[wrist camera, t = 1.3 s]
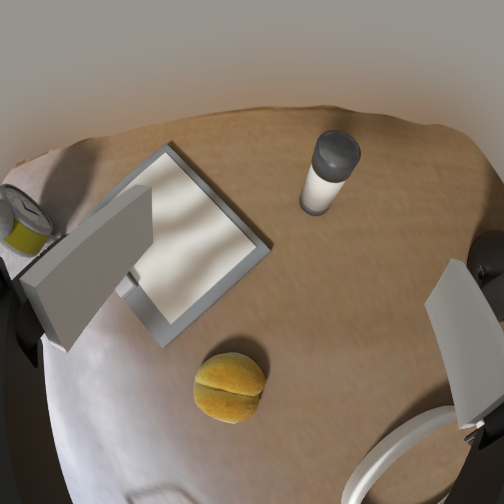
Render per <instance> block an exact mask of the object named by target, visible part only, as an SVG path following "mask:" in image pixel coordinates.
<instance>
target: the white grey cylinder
mask: <svg viewBox="0 0 504 504" xmlns="http://www.w3.org/2000/svg"><path fill="white" fill-rule="evenodd" d="M360 157H361V151H360V147H359V145H358V143H357V142H356V141H355V139H354V138H352V137H351V136H350V135H348V134H346V133H344V132H341V131H336V130H332V131H327V132H325V133H323V134H322V135H321V136H320V137H319V138H318V140H317V143H316V147H315V150H314V153H313V156H312V160H311V166H310V169H309V172H308V175H307V178H306V181H305V184H304V187H303V189H302V192H301V195H300V199H299V201H300V205H301V207H302V209H303V210H304V211H305V212H306V213H308V214H310V215H313V216H319V215H322V214H324V213H325V212H326V211H327V210H328V209H329V207H330V205H331V204H332V202H333V200H334V198H335V197H336V195H337V194H338V192H339V190H340V189H341V187H342V186H343V184H344V182H345V181H346V180H347V179H348V178H349V176H350V175H351V173H352V171H353V170H354V168H355V167H356V165H357V163H358V162H359V160H360Z"/></svg>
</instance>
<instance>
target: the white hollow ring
mask: <svg viewBox="0 0 504 504" xmlns="http://www.w3.org/2000/svg"><path fill="white" fill-rule="evenodd" d="M456 421H457V415H456V410H455V406H442V407H437V408H434V409H431V410H428V411H426V412H423V413H421V414H419V415H417V416H415V417H413V418H412V419H410V420H408V421H407V422H405V423H404V424H402V425H401V426H399V427H398V428H396V429H395V430H394V431H392V432H391V433H390V434H388V435H387V436H386V437H385V438H384V439H383V440H381V441H380V442H379V443H378V444H377V445H376V446H375V447H374V448H373V449H372V450H371V451H370V452H369V453H368V454H367V455H366V456H365V458H364V459H363V460H362V461H361V462H360V464H359V465H358V466H357V467H356V469H355V470H354V472H353V473H352V475H351V476H350V478H349V480H348V482H347V484H346V486H345V488H344V492H343V495H342V500H341V504H361V502H362V500H363V498H364V497H365V495H366V493H367V492H368V491H369V489H370V488H371V487H372V485H373V484H374V483H375V482H376V481H377V479H378V478H379V477H380V476H381V475H382V474H383V473H384V472H385V471H386V470H387V469H388V468H389V467H390V466H391V465H392V464H393V463H394V462H395V461H396V460H397V459H398V458H399V457H400V456H402V455H403V454H404V453H405V452H406V451H408V450H409V449H410V448H411V447H413V446H414V445H415V444H417V443H418V442H419V441H421V440H422V439H424V438H425V437H427V436H428V435H430V434H431V433H433V432H435V431H436V430H438V429H440V428H442V427H444V426H446V425H448V424H451V423H453V422H456ZM483 424H485V423H484V421H483V419H482V420H481V421H479V422H478V423H476V425H477V429H478V428H479V427H481V426H482V425H483ZM449 493H450V492H449ZM449 493H448V494H449ZM448 494H447V495H446V496H445V497H444V498H443V499H442V500H441V501H440V502H439V503H437V504H443V503H444V501H445V500H446V498H447V496H448Z"/></svg>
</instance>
